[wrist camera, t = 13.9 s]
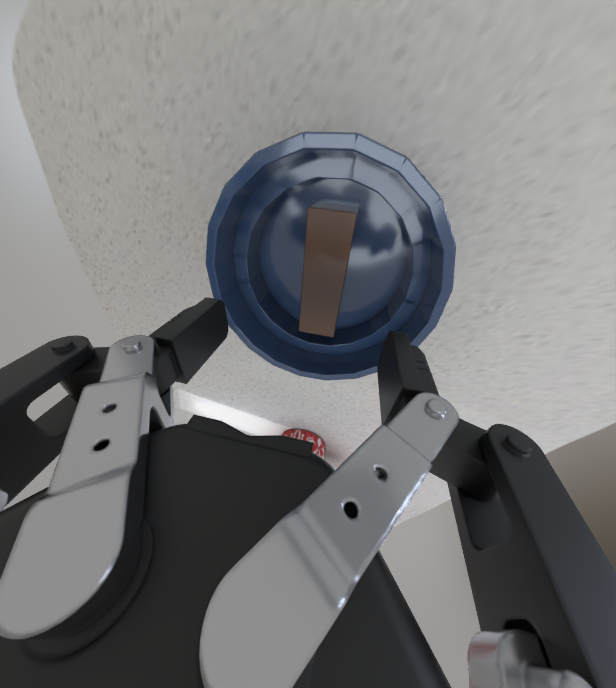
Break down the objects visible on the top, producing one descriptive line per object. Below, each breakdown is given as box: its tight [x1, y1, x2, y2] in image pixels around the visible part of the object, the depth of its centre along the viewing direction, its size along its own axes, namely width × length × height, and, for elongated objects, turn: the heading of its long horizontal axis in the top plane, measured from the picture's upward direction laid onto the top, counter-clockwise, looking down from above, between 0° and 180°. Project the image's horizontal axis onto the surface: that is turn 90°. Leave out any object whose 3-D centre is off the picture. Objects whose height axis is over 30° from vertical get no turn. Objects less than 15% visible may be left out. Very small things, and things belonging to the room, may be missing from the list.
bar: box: [299, 203, 358, 337], centre depth 17 cm, size 9×3×3 cm, turn 175°
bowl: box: [206, 132, 456, 380], centre depth 17 cm, size 15×15×6 cm
